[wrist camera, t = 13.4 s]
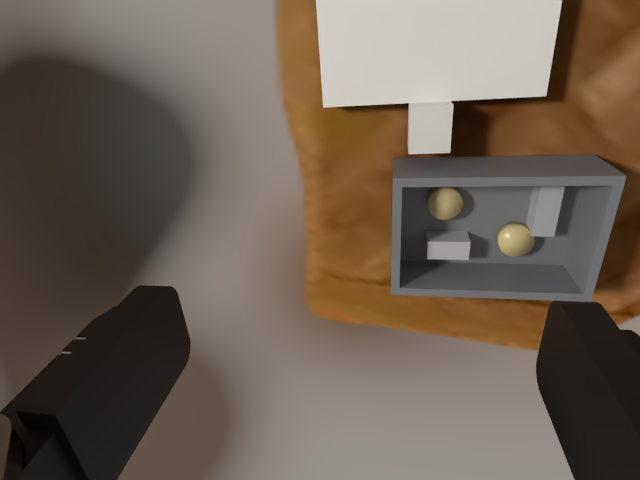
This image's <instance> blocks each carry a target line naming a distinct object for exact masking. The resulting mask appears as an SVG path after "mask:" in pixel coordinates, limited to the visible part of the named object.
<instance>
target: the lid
mask: <svg viewBox="0 0 640 480" xmlns="http://www.w3.org/2000/svg"><path fill="white" fill-rule="evenodd" d="M561 5H562V0H316V8H317V23H318V37H319V52H320V67H321V81H322V96H323V107H343V106H363V105H383V104H403V103H409V105H408V153H409V154H432V153H450V149H451V135H452V121H453V106H454V105H453V103H452V102H451V101H462V100H482V99H502V98H522V97H542V96H546V95H547V89H548V83H549V77H550V71H551V65H552V59H553V53H554V47H555V41H556V35H557V29H558V23H559V17H560V11H561Z"/></svg>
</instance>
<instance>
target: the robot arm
mask: <svg viewBox="0 0 640 480" xmlns="http://www.w3.org/2000/svg"><path fill="white" fill-rule="evenodd" d="M189 354H190V338H189V334H188V330H187V326H186V322H185V319H184V315H183V311H182V307H181V304H180V300H179V296H178V293H177V292H176V290H175V289H174V288H173V287H171V286H145V285H144V286H143V285H140V286H137V287H136V288H135V289H133V290H132V291H131V292H130V293H129V295H127V297H126V298H125V299H124V300H123V301H122V302H121V303H120V304H119V305H118V306H115V307H113V308H112V309H110V310H108V311H107V312H105V313H104V314H102V315H100V316H99V317H97V318H96V319H94V320H92V321H91V322H90V323H89V324H88V325H87V326H86V327H85V328H84V329H83V330H82V331H81V332H80V333H79V334H78V336H76V340H72V341H71V342H70V343H69V345H67V346H66V347H65V348H64V349H63V350H62V354H61V355H57V356H56V357H55V358H54V359H53V360H52V361H51V362H50V363H49V364H48V365H47V366H46V367H45V368H44V369H43V370H42V371H41V372H40V373H39V374H38V375H37V376H36V377H35V378H34V379H33V380H32V381H31V382H30V383H29V384H28V385H27V386H26V387H25V388H24V389H23V390H22V391H21V392H20V393H19V394H18V395H17V396H16V397H15V398H14V399H13V400H12V401H11V402H10V403H9V404H8V405H7V406H6V407H5V408H4V409H3V410H2V411H1V412H0V480H117V479H118V477H119V475H120V474H121V472H122V470H123V468H124V467H125V465H126V464H127V462H128V460H129V459H130V457H131V455H132V454H133V452H134V450H135V449H136V447H137V446H138V444H139V442H140V441H141V439H142V437H143V436H144V434H145V432H146V431H147V429H148V427H149V426H150V424H151V422H152V421H153V419H154V417H155V416H156V414H157V412H158V411H159V409H160V407H161V406H162V404H163V402H164V401H165V399H166V397H167V396H168V394H169V393H170V391H171V389H172V387H173V386H174V384H175V383H176V381H177V379H178V378H179V376H180V374H181V373H182V371H183V369H184V368H185V366H186V364H187V362H188V359H189ZM536 373H537V374H536V375H537V382H538V386H539V390H540V393H541V396H542V398H543V401H544V403H545V406H546V409H547V411H548V413H549V416H550V418H551V421H552V423H553V426H554V429H555V431H556V434H557V436H558V439H559V441H560V444H561V446H562V449H563V451H564V454H565V456H566V459H567V462H568V464H569V466H570V469H571V472H572V474H573V477H574V479H575V480H640V336H639V335H637V334H636V333H635V332H633V331H632V330H620V329H619V328H618V326H617V325H616V324H615V322H614V321H613V320H612V318H611V317H610V316H609V314H608V313H607V311H606V310H605V309H604V307H603V306H602V305H601V304H599V303H597V302H577V301H553V302H552V303H551V304H550V306H549V309H548V313H547V317H546V322H545V326H544V331H543V335H542V339H541V344H540V348H539V352H538V357H537V364H536Z"/></svg>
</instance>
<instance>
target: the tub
mask: <svg viewBox="0 0 640 480" xmlns="http://www.w3.org/2000/svg"><path fill="white" fill-rule="evenodd" d="M626 177H627V176H626V175H625V174H623V173H622V172H620V171H619V170H617V169H616V168H614V167H613V166H611V165H610V164H608V163H607V162H605V161H604V160H602V159H601V158H599V157H598V156H596V155H595V154H586V155H534V156H483V157H431V158H393V188H392V254H391V295H414V296H443V297H471V298H499V299H527V300H556V301H584V302H591V300H592V297H593V293H594V290H595V286H596V283H597V279H598V276H599V272H600V269H601V265H602V262H603V258H604V255H605V251H606V247H607V244H608V240H609V237H610V233H611V230H612V226H613V223H614V219H615V216H616V212H617V209H618V205H619V202H620V198H621V195H622V191H623V188H624V184H625V181H626Z"/></svg>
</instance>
